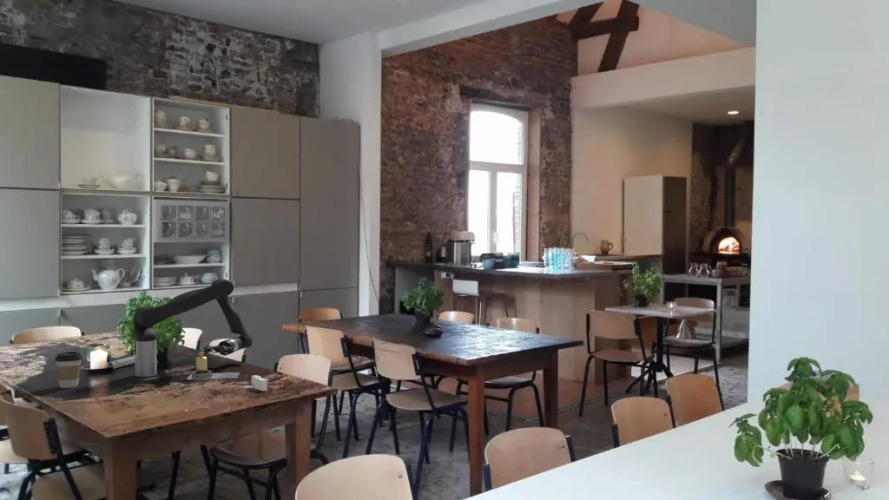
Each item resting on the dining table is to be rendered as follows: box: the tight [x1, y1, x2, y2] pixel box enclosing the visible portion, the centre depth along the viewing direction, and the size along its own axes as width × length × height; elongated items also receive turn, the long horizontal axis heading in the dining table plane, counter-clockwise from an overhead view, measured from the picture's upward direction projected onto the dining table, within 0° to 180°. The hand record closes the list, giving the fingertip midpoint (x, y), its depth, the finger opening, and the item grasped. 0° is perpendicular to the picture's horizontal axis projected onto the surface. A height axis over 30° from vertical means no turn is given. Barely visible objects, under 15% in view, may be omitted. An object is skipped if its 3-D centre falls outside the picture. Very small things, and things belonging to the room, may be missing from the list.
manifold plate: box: [186, 369, 241, 380], centre depth 347 cm, size 23×13×4 cm, turn 100°
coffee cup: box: [54, 351, 83, 389], centre depth 329 cm, size 11×11×15 cm
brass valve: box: [195, 351, 208, 373], centre depth 346 cm, size 5×5×11 cm
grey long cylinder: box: [107, 355, 135, 370], centre depth 379 cm, size 5×7×25 cm
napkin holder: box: [251, 374, 268, 392], centre depth 328 cm, size 15×11×6 cm
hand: (212, 352), depth 357 cm, fingers open, 8 cm apart
